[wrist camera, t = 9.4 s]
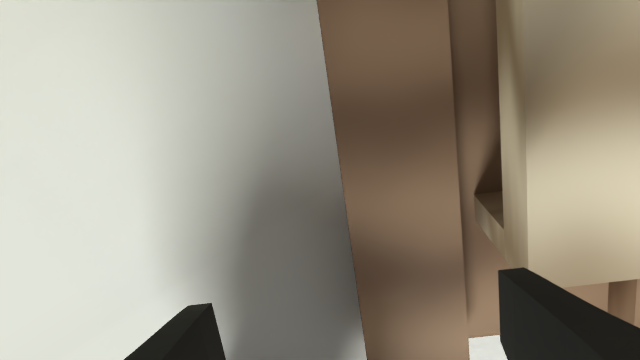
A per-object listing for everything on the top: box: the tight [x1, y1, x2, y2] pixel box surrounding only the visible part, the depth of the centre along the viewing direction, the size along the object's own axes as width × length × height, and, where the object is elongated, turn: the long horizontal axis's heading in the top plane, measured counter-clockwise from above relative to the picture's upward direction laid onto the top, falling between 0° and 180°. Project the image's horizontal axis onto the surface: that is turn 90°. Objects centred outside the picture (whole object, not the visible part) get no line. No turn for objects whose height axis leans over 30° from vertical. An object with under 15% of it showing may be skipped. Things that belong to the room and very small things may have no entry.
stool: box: [474, 0, 640, 288], centre depth 16 cm, size 14×5×6 cm, turn 9°
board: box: [317, 0, 640, 360], centre depth 19 cm, size 22×16×3 cm
